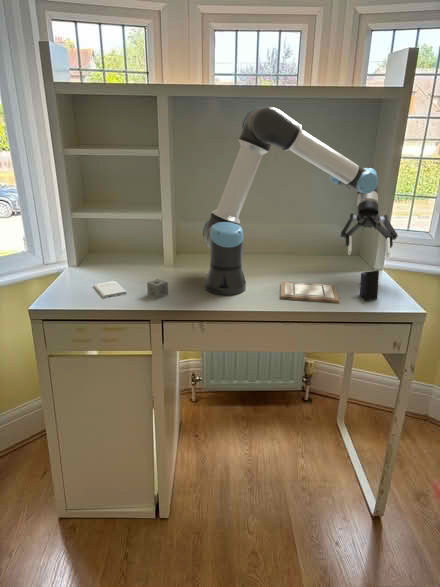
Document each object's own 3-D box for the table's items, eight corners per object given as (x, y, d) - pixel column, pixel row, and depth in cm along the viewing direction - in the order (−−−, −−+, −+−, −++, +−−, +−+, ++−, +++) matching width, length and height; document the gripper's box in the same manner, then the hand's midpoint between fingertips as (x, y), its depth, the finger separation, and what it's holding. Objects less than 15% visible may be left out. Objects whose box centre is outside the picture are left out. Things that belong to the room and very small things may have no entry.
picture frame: (280, 298, 146) (280, 295, 146) (281, 283, 160) (281, 280, 160) (338, 303, 144) (339, 299, 143) (334, 287, 158) (334, 284, 157)
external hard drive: (104, 299, 145) (94, 287, 155) (126, 295, 149) (115, 284, 159) (103, 295, 144) (93, 283, 154) (126, 291, 148) (115, 280, 158)
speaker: (381, 300, 146) (383, 271, 143) (364, 301, 146) (366, 272, 143) (373, 294, 153) (375, 266, 150) (357, 294, 153) (359, 267, 150)
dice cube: (147, 295, 148) (147, 282, 146) (158, 291, 151) (157, 278, 149) (157, 299, 145) (157, 285, 143) (168, 294, 149) (167, 281, 147)
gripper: (398, 212, 163) (401, 260, 155) (333, 209, 166) (332, 256, 158) (404, 200, 156) (407, 251, 148) (336, 198, 159) (335, 247, 151)
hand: (368, 254), depth 153 cm, fingers open, 13 cm apart
